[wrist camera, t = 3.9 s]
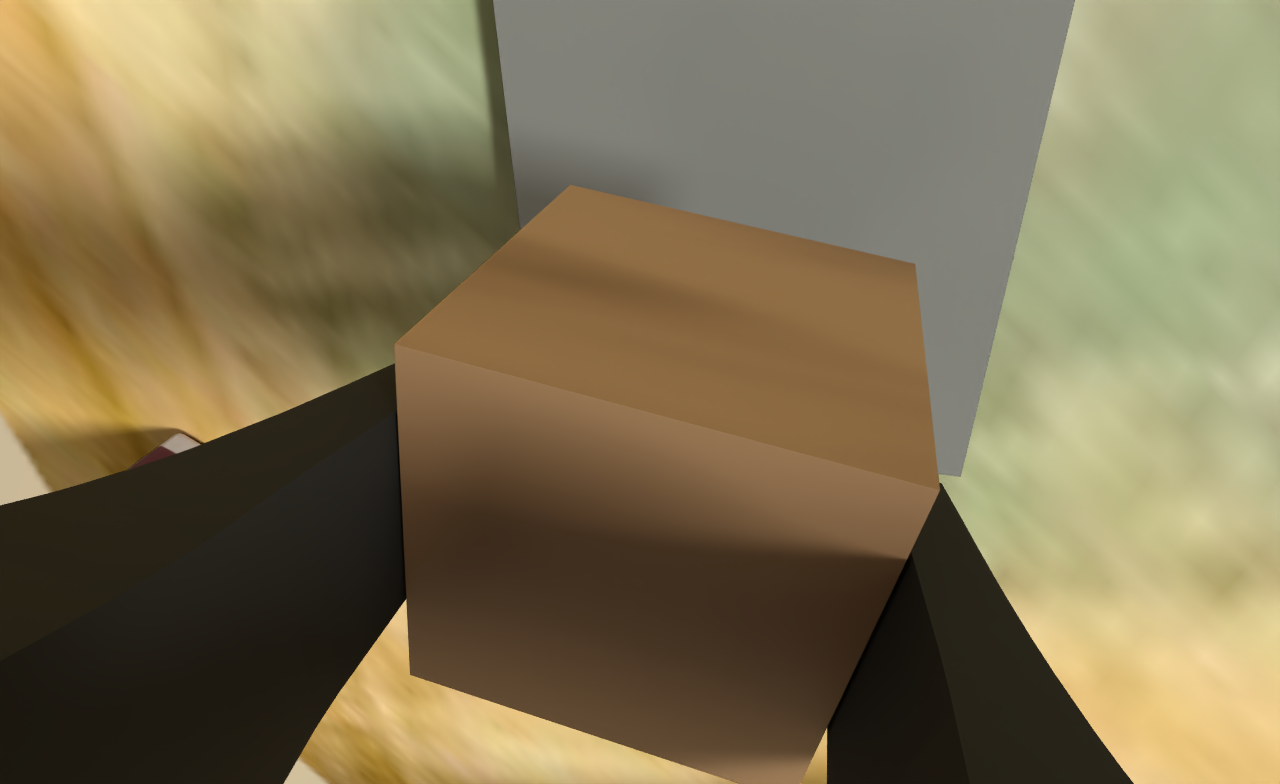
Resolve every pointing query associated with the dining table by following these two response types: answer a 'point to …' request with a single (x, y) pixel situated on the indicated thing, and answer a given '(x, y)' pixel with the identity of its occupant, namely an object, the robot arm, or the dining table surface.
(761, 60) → the slate coaster
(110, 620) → the robot arm
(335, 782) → the dining table surface
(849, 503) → the walnut cube
